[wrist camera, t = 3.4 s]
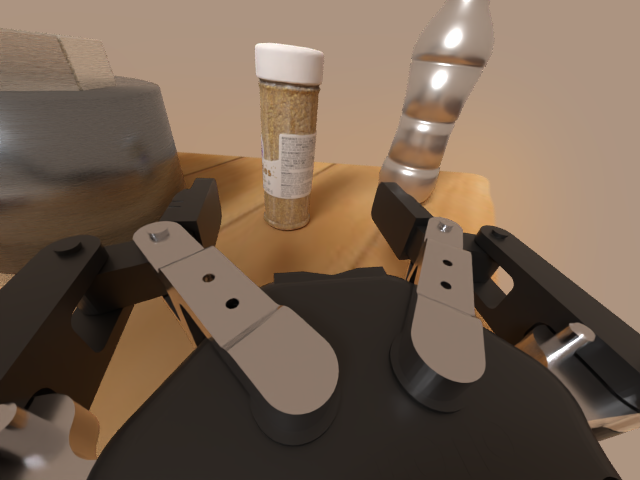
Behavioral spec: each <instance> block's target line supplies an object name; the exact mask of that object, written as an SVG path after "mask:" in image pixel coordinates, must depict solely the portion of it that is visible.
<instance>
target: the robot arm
mask: <svg viewBox="0 0 640 480" xmlns="http://www.w3.org/2000/svg"><path fill="white" fill-rule="evenodd" d="M371 215H372V219H373V221H374V223H375V224H376V226H377V227H378V229H379V230H380V232H381V233H382V235H383V236H384V238H385V239H386V241H387V242H388V244H389V245H390V247H391V249H392V250H393V252H394V253H395V255H396V256H397V258H398V259H399V260H406V259H410V260H411V261H410V263H409V265H408V268H407V271H406V275H405V278H404V279H402V278H399V277H396V276H392V275H387V274H386V272H385V270H384V269H383V267H368V268H356V269H353V270H349V271H346V272H342V273H339V274H336V275H326V274H318V273H310V272H287V273H274V282H272V283H269V284H267V285H264V286H262V287H260V288H259V287H258V286H257V285H256V284H255V283H253V282H252V281H251V280H250V279H249V278H248V277H247V276H246V275H245V274H244V273H243V272H242V271H240V270H239V269H238V268H237V267H236V266H235V265H234V264H233V263H232V262H231V261H230V260H229V259H227V258H226V257H225V256H224V255H223V254H222V253H221V252H220V251H219V250H218V249H217V248H215V245H216V241H217V237H218V233H219V229H220V225H221V219H222V215H221V206H220V201H219V195H218V189H217V184H216V180H215V179H214V178H196V179H195V181H194V183H193V185H192V187H191V189H183V190H182V191H180V192H179V193H177V194H175V196H174V198H173V199H172V202H171V203H170V204H169V206H168V207H167V209H166V211H165V212H164V214H163V215H162V217H161V219H160V220H159V222H155V223H151V224H148V225H146V226H143V227H142V228H140V229H139V230H137V231H136V232H135V234H134V236H133V241H129V242H124V243H119V244H114V245H109V246H103V244H102V243H101V241H100V239H99V238H97V237H95V236H92V235H77V236H71V237H67V238H64V239H61V240H58V241H55V242H53V243H51V244H49V245H47V246H46V247H44V248H43V249H41V250H40V251H39V252H38V253H37V254H36V255H35V256H34V257H33V258H32V259H31V260H30V261H29V262H28V263H27V264H26V265H25V266H24V267H23V268H22V269H21V270H20V271H19V272H18V273H17V274H16V275H15V276H14V277H13V278H12V279H11V280H10V281H9V282H8V283H7V284H5V285H4V286H3V287H2V288H1V289H0V480H622V479H621V477H620V476H619V474H618V473H617V471H616V470H615V468H614V467H613V465H612V464H611V462H610V461H609V459H608V458H607V456H606V454H605V453H604V451H603V449H602V448H601V446H600V444H599V443H598V441H601V440H604V439H607V438H610V437H613V436H616V435H619V434H622V433H625V432H628V431H631V430H634V429H637V428H640V334H639V333H638V332H636V331H635V330H634V329H633V328H631V327H630V326H629V325H627V324H626V323H625V322H624V321H622V320H621V319H620V318H619V317H617V316H616V315H615V314H613V313H612V312H611V311H609V310H608V309H607V308H606V307H604V306H603V305H602V304H601V303H599V302H598V301H597V300H596V299H594V298H593V297H591V296H590V295H589V294H588V293H587V292H585V291H584V290H583V289H581V288H580V287H579V286H578V285H576V284H575V283H574V282H572V281H571V280H570V279H569V278H567V277H566V276H565V275H563V274H562V273H561V272H560V271H558V270H557V269H556V268H555V267H553V266H552V265H551V264H549V263H548V262H547V261H546V260H544V259H543V258H542V257H540V256H539V255H538V254H537V253H535V252H534V251H533V250H531V249H530V248H529V247H528V246H526V245H525V244H524V243H522V242H521V241H520V240H519V239H517V238H516V237H515V236H514V235H512V234H511V233H509V232H508V231H506V230H503V229H501V228H498V227H495V226H488V225H486V226H482V227H481V228H480V230H479V232H478V233H477V235H475V234H469V233H463V230H462V228H461V227H460V226H459V225H458V224H457V223H455V222H453V221H451V220H449V219H446V218H442V217H433V216H432V215H431V214H430V213H429V212H428V211H427V210H426V209H425V208H424V207H422V205H421V204H420V203H419V202H417V200H416V199H415V198H414V197H412V196H411V195H409V194H407V193H406V192H405V191H404V190H403V189H402V188H401V187H400V186H399V185H398V184H397V183H395V182H380V183H379V185H378V188H377V191H376V195H375V199H374V202H373V206H372V211H371ZM499 266H501V267H502V268H503V269H504V270H505V271H506V272H507V273H508V274H509V275H510V276H511V277H512V279H513V282H514V287H513V289H512V290H511V291H510V292H509V294H508V295H506V294H505V293H504V292H503V291H502V290H501V289H500V288H499V287H498V286H497V285H496V284H495V283H494V282H493V280H492V279H491V276H492V275H493V274H494V272H495V271H496V270H497V269H498V267H499ZM160 296H161V298H162V300H163V301H164V302H165V304H166V305H167V307H168V308H169V310H170V311H171V312H172V314H173V315H174V317H175V318H176V320H177V321H178V322H179V324H180V325H181V327H182V328H183V330H184V331H185V333H186V335H187V337H188V338H189V340H190V342H191V344H192V345H193V347H194V349H195V350H194V351H193V352H192V353H191V354H190V355H189V356H188V357H187V358H186V359H185V360H184V361H183V362H182V363H181V365H180V366H179V367H178V368H177V369H176V370H175V371H174V372H173V373H172V374H171V375H170V376H169V377H168V378H167V379H166V380H165V381H164V382H163V383H162V384H161V386H160V387H159V388H158V389H157V390H156V391H155V392H154V393H153V394H152V395H151V396H150V397H149V398H148V399H147V400H146V401H145V402H144V403H143V404H142V405H141V407H140V408H139V409H138V410H137V411H136V412H135V413H134V414H133V415H132V416H131V417H130V418H129V419H128V420H127V421H126V422H125V423H124V424H123V426H122V427H121V428H120V429H119V430H118V431H117V432H116V434H115V435H114V436H113V437H112V438H111V440H110V441H109V442H108V444H107V445H106V446H105V448H104V449H103V451H102V452H101V454H100V455H99V457H98V459H97V456H96V445H97V441H98V436H99V431H100V425H99V421H98V419H97V417H96V416H95V415H94V414H92V413H91V412H90V411H89V409H90V407H91V404H92V402H93V400H94V397H95V395H96V393H97V390H98V388H99V386H100V383H101V381H102V379H103V376H104V374H105V372H106V369H107V367H108V365H109V362H110V360H111V358H112V356H113V353H114V351H115V349H116V346H117V344H118V342H119V339H120V337H121V335H122V332H123V330H124V328H125V325H126V323H127V321H128V318H129V316H130V314H131V311H132V309H133V307H134V304H137V303H140V302H143V301H147V300H150V299H153V298H156V297H160ZM76 306H77V308H76ZM474 307H475V308H476V309H477V311H478V312H479V313H480V315H481V316H482V317H483V318H484V320H485V321H486V322H487V324H488V325H489V326H490V328H491V329H492V330H493V332H494V333H495V334H494V333H493V332H491V331H489V330H488V329H486V328H484V327H483V326H482V322H481V320H480V319H479V318H477V317H476V316H475V310H474ZM75 308H76V310H75V311H74V309H75ZM73 311H74V313H73ZM72 313H73V314H72Z"/></svg>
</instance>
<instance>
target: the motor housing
mask: <svg viewBox="0 0 640 480" xmlns="http://www.w3.org/2000/svg"><path fill="white" fill-rule="evenodd" d="M183 189H186V185H185V181H184V177H183V174H182V170H181V166H180V162H179V158H178V155H177V151H176V147H175V143H174V140H173V136H172V132H171V128H170V125H169V121H168V117H167V113H166V110H165V106H164V102H163V98H162V95H161V91H160V87H159V86H158V85H157V84H154V83H152V82H148V81H144V80H139V79H133V78H127V77H119V76H114V75H113V72H112V69H111V67H110V64H109V61H108V58H107V55H106V53H105V50H104V47H103V44H102V41H101V40H94V39H88V38H80V37H72V36H63V35H55V34H47V33H38V32H30V31H21V30H12V29H3V28H0V273H5V274H17V273H18V272H19V271H20V270H21V269H22V268H23V267H24V266H25V265H26V264H27V263H28V262H29V261H30V260H31V259H32V258H33V257H34V256H35V255H36V254H37V253H38V252H39V251H40V250H41V249H43V248H44V247H46V246H47V245H49V244H51V243H53V242H55V241H58V240H61V239H64V238H67V237H71V236H77V235H92V236H95V237H97V238H99V239H100V241H101V243H102V244H103V246H109V245H114V244H119V243H124V242H129V241H133V236H134V234H135V232H136V231H137V230H139V229H140V228H142V227H143V226H146V225H148V224H151V223H155V222H159V220H160V219H161V217H162V215H163V214H164V212H165V211H166V209H167V207H168V206H169V204H170V203H171V202H172V199H173V198H174V196H175V194H177V193H179V192H180V191H182V190H183Z"/></svg>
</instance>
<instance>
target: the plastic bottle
mask: <svg viewBox="0 0 640 480" xmlns="http://www.w3.org/2000/svg"><path fill="white" fill-rule="evenodd" d="M489 3H490V0H446V1H445V4H444V6H443V7H442V8H441V9H440V10H439V11H438V12H437V14H436V15H435V16H434V17H433V18H432V19H431V21H430V22H429V23H428V25H427V26H426V27H425V29H424V30H423V32H422V33H421V34H420V36H419V38H418V40H417V42H416V44H415V46H414V49H413V54H412V58H411V59H412V62H411V64H410V71H409V77H408V84H407V90H406V96H405V100H404V104H403V109H402V111H403V112H402V116H401V117H400V121H399V126H398V129H397V131H396V134H395V137H394V140H393V142H392V145H391V148H390V151H389V153H388V156H387V157H386V159H385V161H384V163H383V166H382V168H381V170H380V173H379V182H378V185H379V183H380V182H395V183H397V184H398V185H399V186H400V187H401V188H402V189H403V190H404V191H405V192H406V193H407V194H409V195H411V196H412V197H414V198H415V199H416V200H417V202H419V203H422V202H423V201H425V200H426V199H427V198H428V197H429V196H430V194H431V193H432V191H433V190H434V188H435V185H436V182H437V178H438V175H439V169H440V168H439V166H440V164H441V161H442V158H443V155H444V151H445V148H446V145H447V142H448V139H449V136H450V134H451V132H452V130H453V128H454V123H455V121H456V120H457V119H458V117H459V115H460V113H461V110H462V108H463V106H464V104H465V102H466V100H467V98H468V97H469V95H470V93H471V91H472V89H473V88H474V86H475V84H476V82H477V81H478V79H479V77H480V75H481V73H482V72H483V71H482V70H483V68H484V67H485V66H486V65H487V62H488V60H489V58H490V56H491V54H492V50H493V44H494V33H493V24H492V19H491V15H490V10H489Z"/></svg>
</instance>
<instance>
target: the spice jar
mask: <svg viewBox="0 0 640 480" xmlns="http://www.w3.org/2000/svg"><path fill="white" fill-rule="evenodd" d="M323 62H324V55H323V53H322V52H321V51H318V50H314V49H311V48H305V47H299V46H292V45H285V44H276V43H259V44H257V45H256V46H255V65H256V76H257V77H258V78H259V79H260V81H259V87H260V104H261V105H260V107H261V128H262V132H261V143H262V167H263V188H264V199H265V212H264V218H265V221H266V222H267V223H268V224H269V225H270V226H272V227H274V228H277V229H281V230H293V229H298V228H301V227H303V226H305V225H306V224H307V223H308V221H309V219H310V215H309V202H310V192H311V188H312V177H313V167H314V154H315V143H316V121H317V109H318V94H319V91H320V88H319V85H320V84H322V77H323V64H324V63H323Z"/></svg>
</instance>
